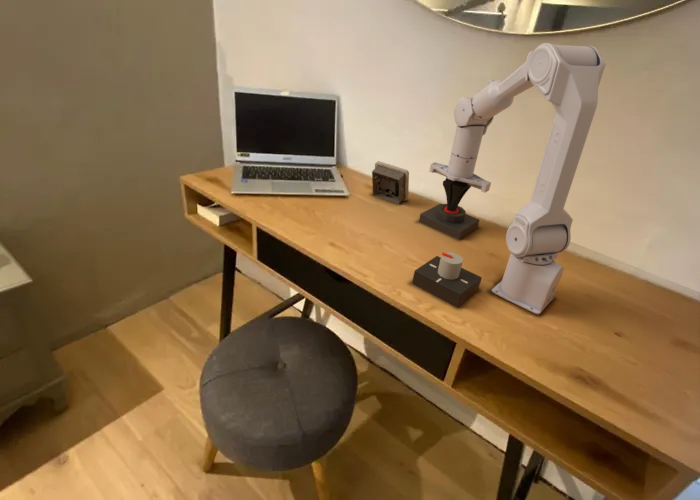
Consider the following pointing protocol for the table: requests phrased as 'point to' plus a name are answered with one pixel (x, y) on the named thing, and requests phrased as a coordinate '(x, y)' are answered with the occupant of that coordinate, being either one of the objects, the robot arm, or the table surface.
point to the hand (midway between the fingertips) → (451, 209)
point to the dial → (450, 265)
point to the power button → (450, 211)
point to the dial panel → (446, 283)
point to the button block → (449, 221)
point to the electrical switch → (390, 182)
